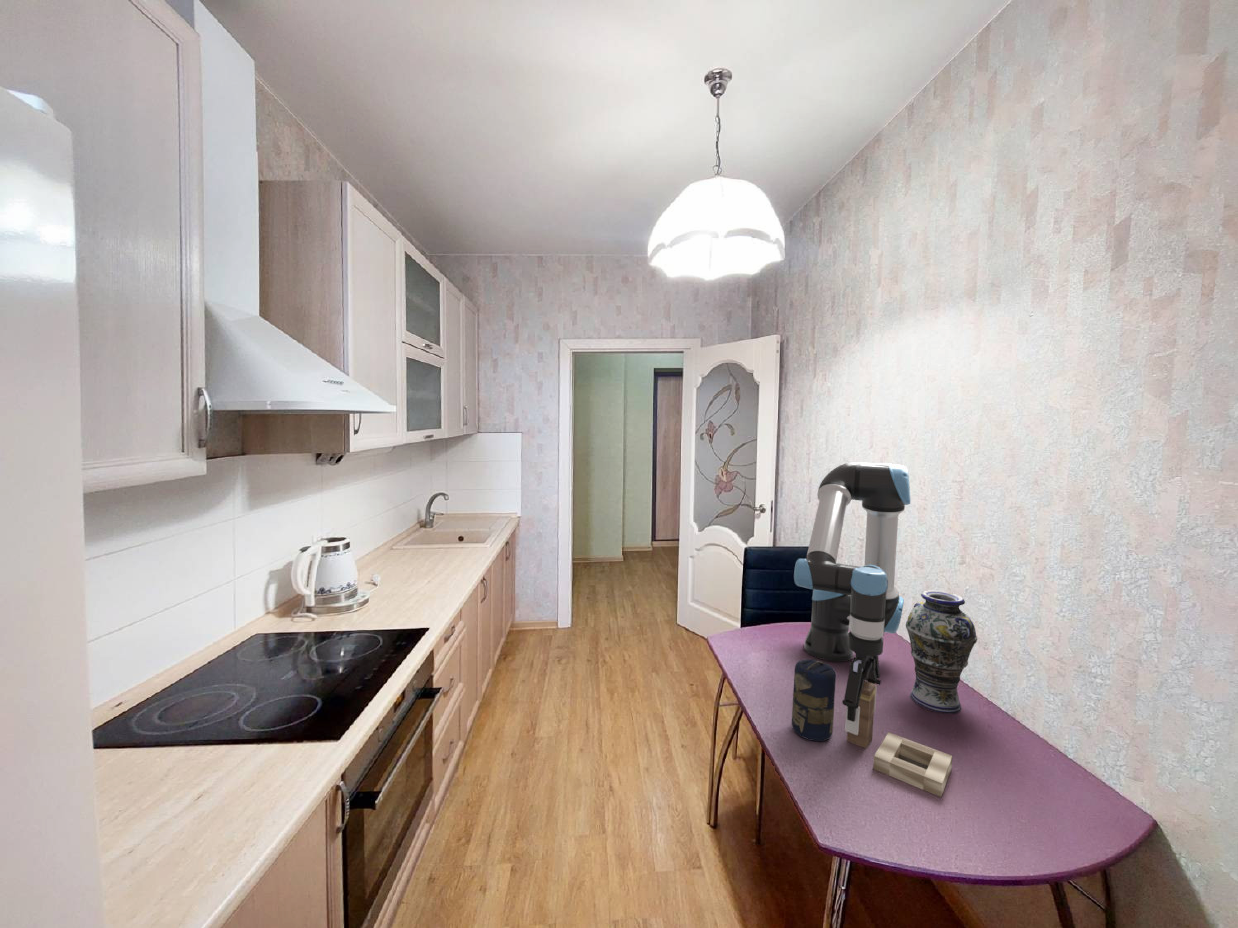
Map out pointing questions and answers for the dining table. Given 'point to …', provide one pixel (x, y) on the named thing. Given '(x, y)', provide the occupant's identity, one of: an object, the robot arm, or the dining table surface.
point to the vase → (939, 649)
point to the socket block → (913, 763)
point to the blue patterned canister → (813, 699)
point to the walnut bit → (865, 717)
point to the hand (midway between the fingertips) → (860, 720)
